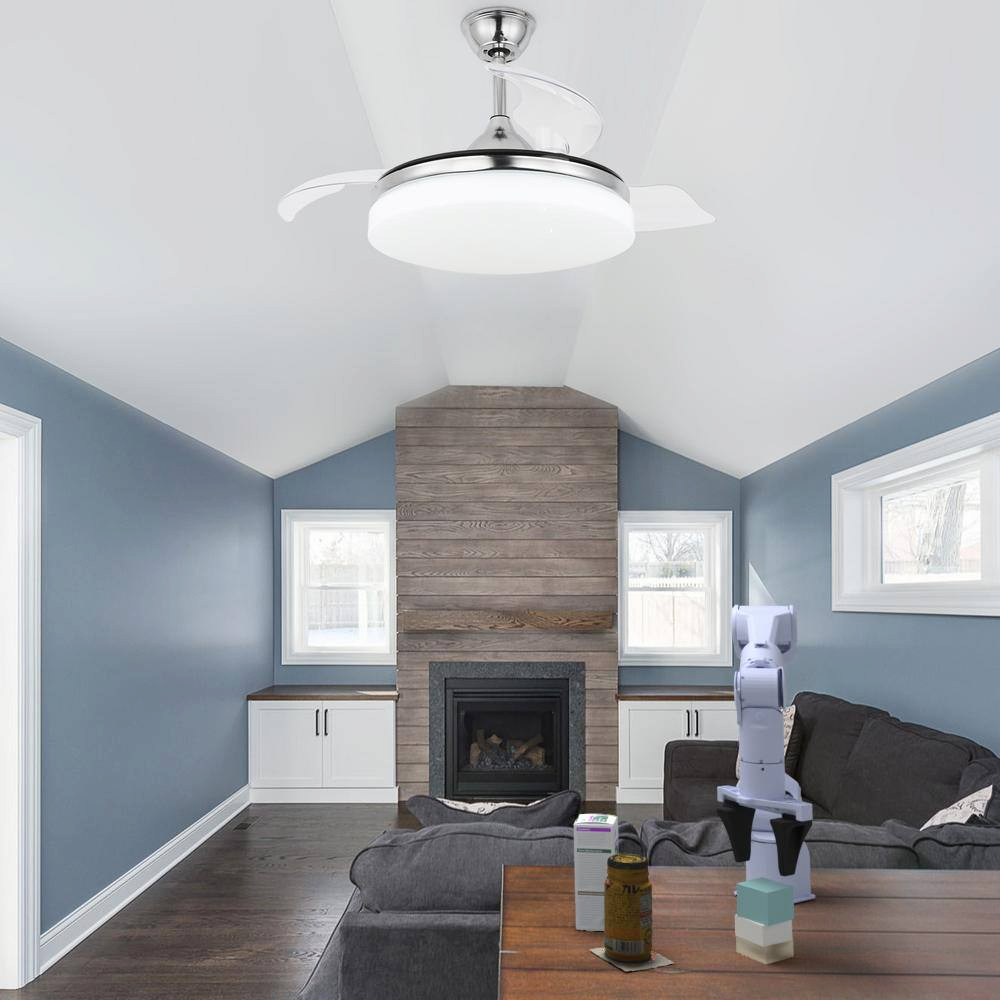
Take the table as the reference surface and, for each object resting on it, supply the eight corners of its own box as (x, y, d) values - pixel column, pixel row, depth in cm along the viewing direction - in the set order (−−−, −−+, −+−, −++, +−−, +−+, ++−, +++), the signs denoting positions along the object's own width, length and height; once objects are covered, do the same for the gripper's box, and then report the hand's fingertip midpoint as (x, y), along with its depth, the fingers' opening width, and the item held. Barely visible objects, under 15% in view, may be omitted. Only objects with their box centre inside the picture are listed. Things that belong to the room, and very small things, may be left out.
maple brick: (764, 948, 128) (763, 928, 128) (793, 960, 124) (793, 939, 124) (736, 955, 125) (735, 935, 126) (766, 968, 121) (765, 947, 121)
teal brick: (762, 908, 128) (762, 877, 129) (794, 918, 124) (793, 886, 125) (737, 915, 126) (736, 883, 126) (768, 926, 121) (767, 892, 122)
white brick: (764, 928, 128) (763, 908, 128) (792, 940, 124) (791, 919, 124) (735, 934, 126) (734, 914, 126) (763, 946, 121) (762, 925, 122)
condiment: (636, 943, 129) (635, 849, 130) (675, 964, 121) (673, 864, 122) (588, 951, 125) (588, 855, 127) (625, 974, 118) (624, 871, 119)
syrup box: (617, 933, 132) (616, 823, 134) (573, 930, 133) (573, 820, 135) (620, 920, 138) (619, 814, 139) (578, 917, 139) (578, 812, 140)
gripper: (700, 755, 132) (701, 859, 131) (783, 771, 120) (786, 886, 118) (737, 751, 136) (739, 852, 134) (822, 766, 123) (825, 877, 122)
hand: (764, 867), depth 127 cm, fingers open, 7 cm apart
